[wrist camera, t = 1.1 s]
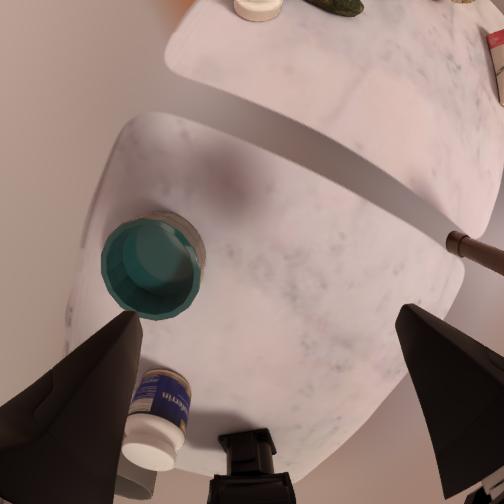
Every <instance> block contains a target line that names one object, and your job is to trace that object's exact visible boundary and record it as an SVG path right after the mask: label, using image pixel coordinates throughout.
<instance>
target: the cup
mask: <svg viewBox="0 0 504 504" xmlns="http://www.w3.org/2000/svg"><path fill="white" fill-rule="evenodd" d="M126 436H127V435H126V433H125V431H124V436H123V441H122V446H123V442H124V439H125V437H126ZM122 446H121V452H120V457H119V463H118V469H117V476H116V483H115V491H114V494H115V495H119V496H122V497H125V498H129V499H135V500H148V499H151V497H152V496H153V492H154V486H155V480H156V475H157V471H154V470H149V469H145V468H142V467H140V466H138V465H136V464H134V463H132V462H131V461H129V460H128V459H127V458H126V457H125V456H124V454H123V452H122Z"/></svg>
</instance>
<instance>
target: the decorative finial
mask: <svg viewBox="0 0 504 504" xmlns="http://www.w3.org/2000/svg"><path fill="white" fill-rule="evenodd" d="M282 3H283V0H234V9H235V11H236V13H237V14H238V15H239V16H241V17H242V18H244V19H247V20H250V21H258V22H260V21H267V20H271V19H273V18H275V17H276V16H277V15H278V14H279V12H280V10H281V6H282Z"/></svg>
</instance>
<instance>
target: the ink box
mask: <svg viewBox="0 0 504 504" xmlns="http://www.w3.org/2000/svg"><path fill="white" fill-rule="evenodd" d="M487 40H488V44H489V47H490V51H491V55H492V59H493V63H494V68H495V72H496V77H497V83H498V89H499V95H500V103H501V105H503V106H504V29H503V30H500V31H497V32H494V33H492V34H490V35H488V36H487Z"/></svg>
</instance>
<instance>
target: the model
mask: <svg viewBox="0 0 504 504" xmlns="http://www.w3.org/2000/svg"><path fill="white" fill-rule="evenodd" d="M452 1H453V2H454V3H462V4H463V3H466V4H467V3H471V2H473V1H474V0H452Z"/></svg>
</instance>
